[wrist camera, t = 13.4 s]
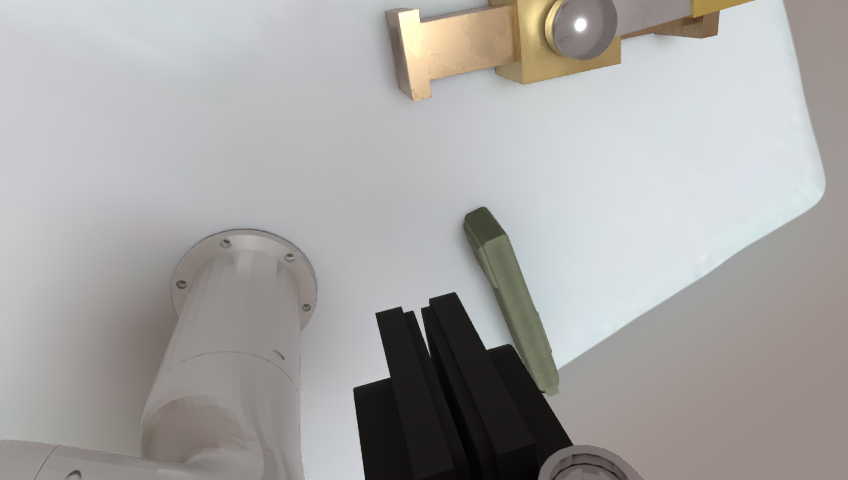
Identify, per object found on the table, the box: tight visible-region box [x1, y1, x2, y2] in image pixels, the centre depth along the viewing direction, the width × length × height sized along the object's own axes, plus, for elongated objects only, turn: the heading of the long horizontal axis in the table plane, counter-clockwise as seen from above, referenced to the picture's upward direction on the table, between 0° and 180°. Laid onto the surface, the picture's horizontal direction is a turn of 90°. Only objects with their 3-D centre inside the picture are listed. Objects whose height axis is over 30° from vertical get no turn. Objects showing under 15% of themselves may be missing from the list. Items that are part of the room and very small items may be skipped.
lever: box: [545, 0, 753, 60], centre depth 36 cm, size 16×4×2 cm, turn 104°
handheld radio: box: [464, 207, 559, 397], centre depth 52 cm, size 7×3×25 cm
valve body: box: [385, 0, 720, 101], centre depth 40 cm, size 7×25×6 cm, turn 100°
